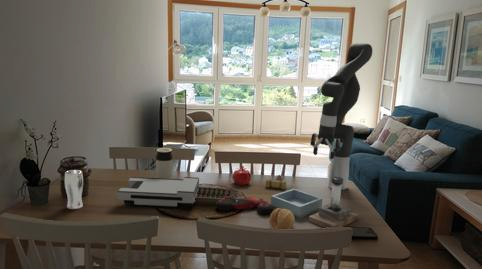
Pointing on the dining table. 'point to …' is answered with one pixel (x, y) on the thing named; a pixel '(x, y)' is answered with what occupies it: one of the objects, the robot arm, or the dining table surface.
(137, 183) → the game console
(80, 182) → the beer glass
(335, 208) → the stop pin
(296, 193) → the tray
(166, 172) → the travel mug
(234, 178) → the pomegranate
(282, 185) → the gavel
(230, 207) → the toy motorcycle
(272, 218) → the bread roll
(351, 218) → the peg hole base
